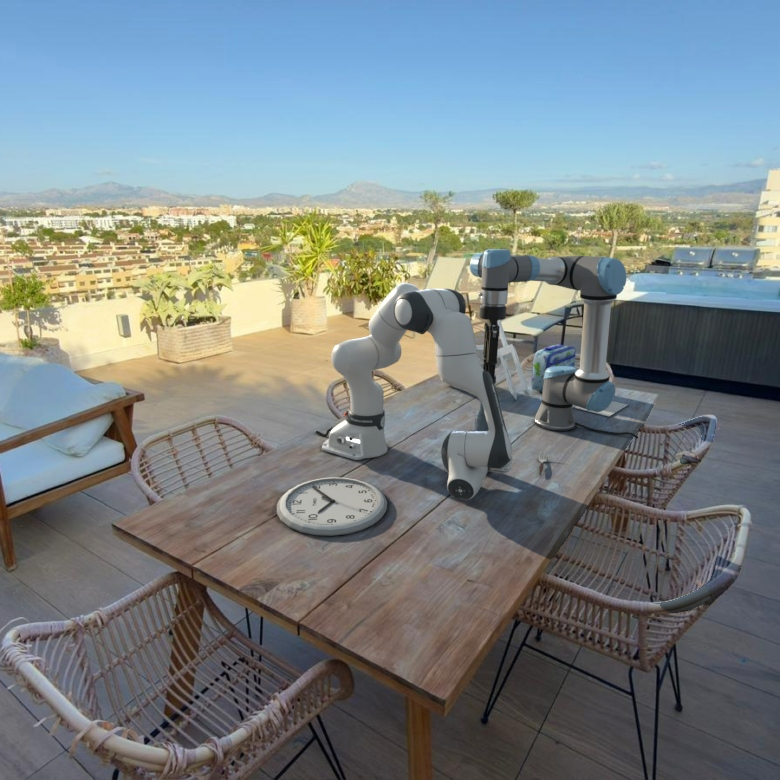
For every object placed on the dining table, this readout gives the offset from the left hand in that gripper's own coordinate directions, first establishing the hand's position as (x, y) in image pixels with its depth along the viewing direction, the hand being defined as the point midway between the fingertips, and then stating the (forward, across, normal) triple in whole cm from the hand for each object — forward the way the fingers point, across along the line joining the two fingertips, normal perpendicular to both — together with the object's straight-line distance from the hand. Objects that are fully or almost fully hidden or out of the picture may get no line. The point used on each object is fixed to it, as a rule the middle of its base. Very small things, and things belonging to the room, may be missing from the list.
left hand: (482, 448), depth 164 cm
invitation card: (+80, -36, +7) cm, 89 cm away
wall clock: (-39, +33, +7) cm, 52 cm away
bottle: (-1, 0, +7) cm, 7 cm away
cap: (-1, 0, -24) cm, 24 cm away
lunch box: (+99, -14, +7) cm, 100 cm away
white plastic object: (+80, +17, +7) cm, 82 cm away
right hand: (-1, 0, -22) cm, 22 cm away
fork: (+9, -18, +7) cm, 21 cm away
